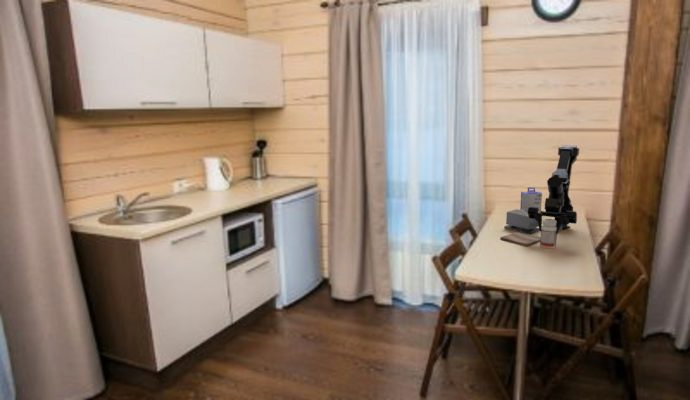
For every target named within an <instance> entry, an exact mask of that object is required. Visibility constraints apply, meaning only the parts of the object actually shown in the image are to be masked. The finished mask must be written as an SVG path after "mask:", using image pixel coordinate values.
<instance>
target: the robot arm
mask: <svg viewBox="0 0 690 400" xmlns="http://www.w3.org/2000/svg"><path fill="white" fill-rule="evenodd" d="M557 148H558V150H557V151H558V152H557V155H558V156H559V159H558V163H557V166H556V170H555V171H553V172H552V174H551V177H549V178H548V179H547V181H546V184H547V190H548V197H545V199H544V201H545V202H544V210H542V209H541V210H539V208H538V207H529V208H528V216H529V218H531V219H535V220H536V221H538V224H539V226H538V228H539V231H538V232H540V233H541V227H542V226H543V217H549V218H554V219H553V220H556V221H557V223H556V227H557V231H556V234H557V235H558V234H559V233H560V231H561V230H563V231H564V230H567V229H570V228H571V226H570V224H574V225H576V224H577V223H578V213H577V211H576V210H575V211H574V206H573V203H572V199H571V198H570V197H569V190H570V185H571V177H572V168H573V165H574V163H575V162H576V161H577V160H578V156H579V154H580V148H578V147H577V145H567V144H566V145H565V144H564V145H561V147H557Z"/></svg>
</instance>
